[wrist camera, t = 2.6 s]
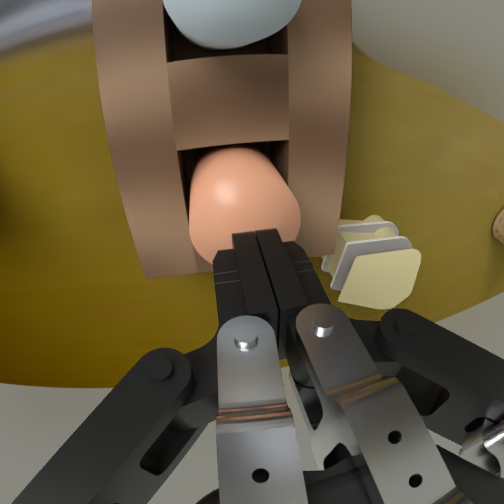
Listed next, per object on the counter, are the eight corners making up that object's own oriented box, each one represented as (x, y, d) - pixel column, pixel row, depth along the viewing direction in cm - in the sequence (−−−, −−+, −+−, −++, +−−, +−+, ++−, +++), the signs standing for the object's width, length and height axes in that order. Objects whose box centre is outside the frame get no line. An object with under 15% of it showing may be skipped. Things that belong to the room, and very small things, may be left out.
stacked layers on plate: (288, 280, 25) (306, 329, 21) (312, 183, 20) (345, 224, 16) (381, 277, 27) (407, 317, 23) (415, 197, 22) (454, 232, 18)
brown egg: (185, 144, 14) (180, 182, 10) (272, 135, 14) (303, 169, 10) (196, 218, 16) (198, 276, 13) (273, 209, 17) (297, 263, 13)
